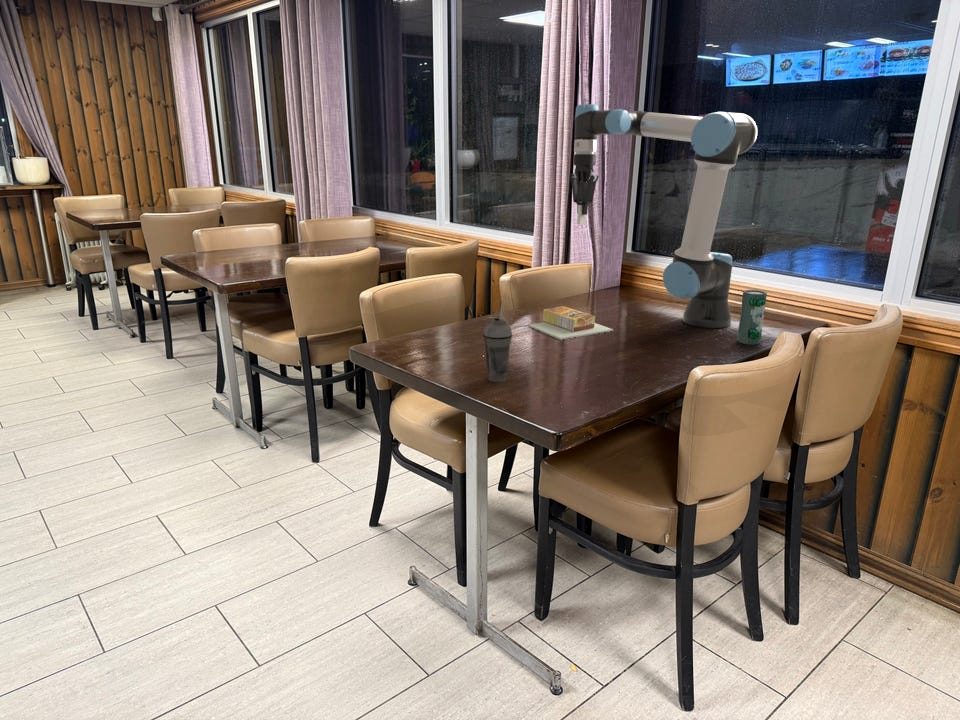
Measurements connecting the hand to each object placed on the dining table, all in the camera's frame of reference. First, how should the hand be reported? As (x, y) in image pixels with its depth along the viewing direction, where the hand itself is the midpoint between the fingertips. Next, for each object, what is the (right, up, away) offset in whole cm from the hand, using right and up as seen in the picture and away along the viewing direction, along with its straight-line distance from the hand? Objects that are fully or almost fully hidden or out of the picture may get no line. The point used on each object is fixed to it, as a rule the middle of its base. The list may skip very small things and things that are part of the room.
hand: (581, 224), depth 232 cm
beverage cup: (-31, -52, -65) cm, 89 cm away
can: (+45, -42, -34) cm, 70 cm away
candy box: (-11, -32, -12) cm, 36 cm away
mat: (-7, -37, -20) cm, 43 cm away
